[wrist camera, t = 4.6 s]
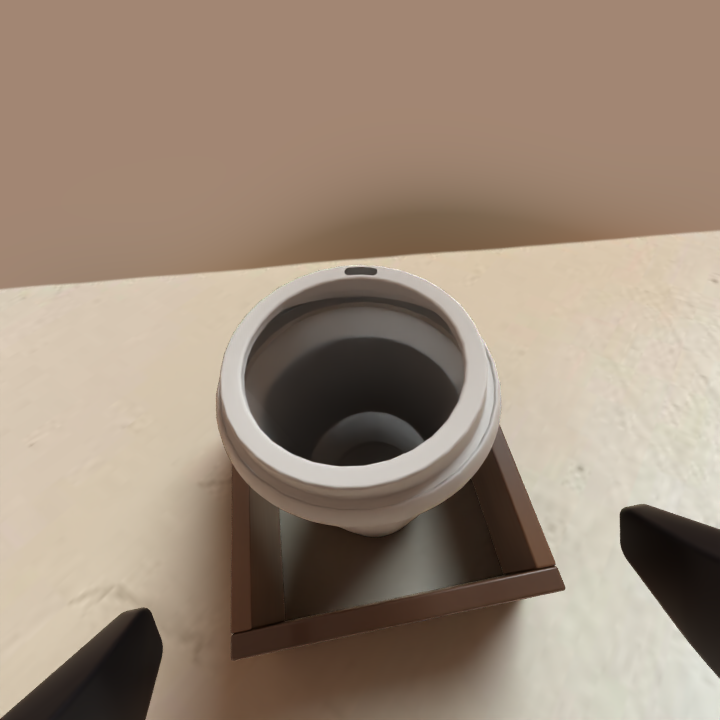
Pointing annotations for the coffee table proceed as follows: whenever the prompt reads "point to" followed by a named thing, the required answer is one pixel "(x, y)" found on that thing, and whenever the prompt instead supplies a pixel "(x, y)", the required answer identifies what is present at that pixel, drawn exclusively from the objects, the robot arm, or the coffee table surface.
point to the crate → (272, 633)
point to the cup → (358, 398)
